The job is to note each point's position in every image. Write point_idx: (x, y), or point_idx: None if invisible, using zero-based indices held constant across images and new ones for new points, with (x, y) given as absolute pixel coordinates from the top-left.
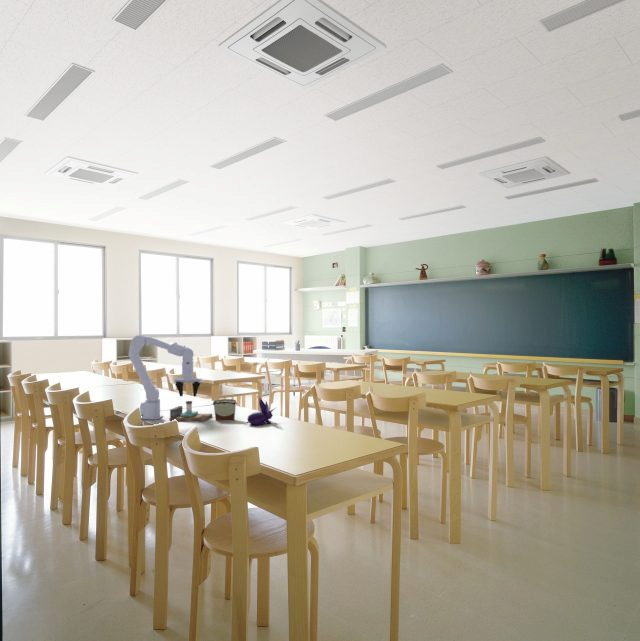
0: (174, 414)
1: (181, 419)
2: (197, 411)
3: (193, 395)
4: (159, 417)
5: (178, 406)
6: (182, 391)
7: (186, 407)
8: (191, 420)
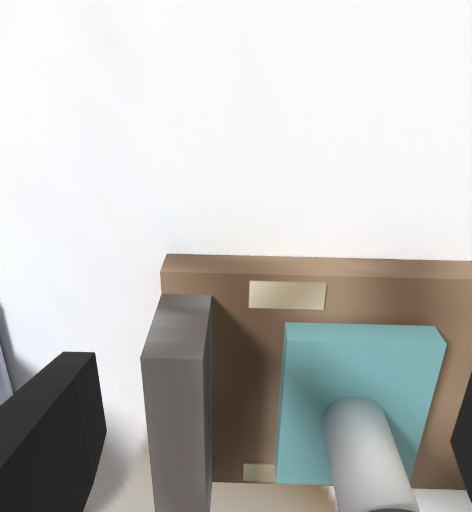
0: (211, 485)
1: None
2: (443, 347)
3: (460, 471)
4: (4, 379)
5: (157, 389)
6: (36, 449)
7: (334, 489)
8: None
